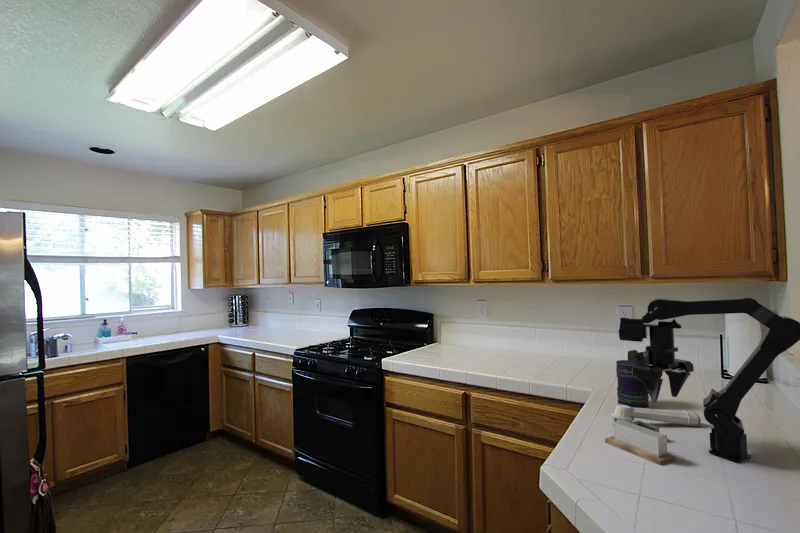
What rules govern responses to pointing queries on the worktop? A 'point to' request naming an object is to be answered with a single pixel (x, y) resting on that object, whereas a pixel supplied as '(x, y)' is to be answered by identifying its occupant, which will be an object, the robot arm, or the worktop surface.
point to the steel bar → (641, 438)
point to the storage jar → (630, 386)
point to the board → (640, 452)
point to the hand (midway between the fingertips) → (664, 399)
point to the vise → (646, 425)
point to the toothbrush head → (655, 415)
